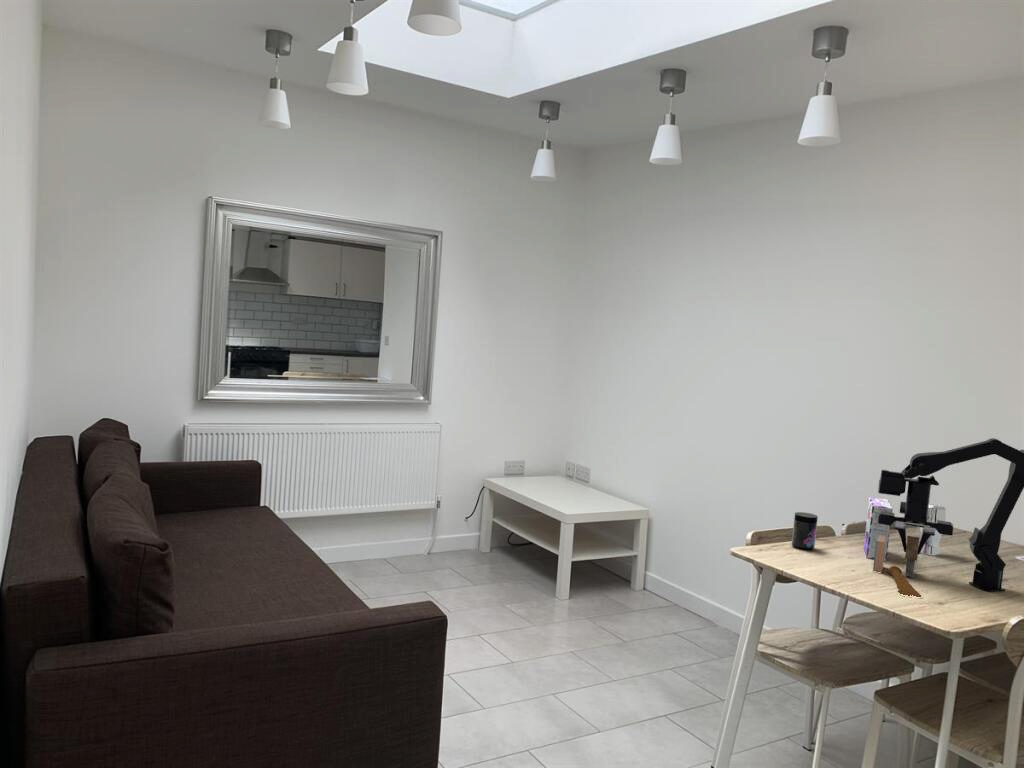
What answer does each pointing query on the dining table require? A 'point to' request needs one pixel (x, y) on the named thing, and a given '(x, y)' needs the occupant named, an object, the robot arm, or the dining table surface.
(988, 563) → the robot arm
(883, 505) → the candy box
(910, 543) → the two-tone stacked blocks
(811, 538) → the supplement container
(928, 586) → the dining table surface
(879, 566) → the tan block
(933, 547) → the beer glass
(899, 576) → the primitive tool
